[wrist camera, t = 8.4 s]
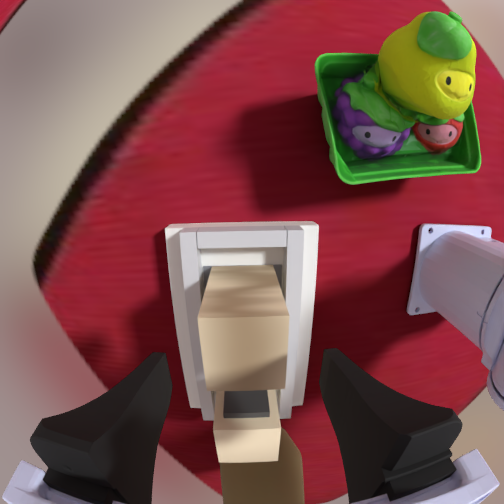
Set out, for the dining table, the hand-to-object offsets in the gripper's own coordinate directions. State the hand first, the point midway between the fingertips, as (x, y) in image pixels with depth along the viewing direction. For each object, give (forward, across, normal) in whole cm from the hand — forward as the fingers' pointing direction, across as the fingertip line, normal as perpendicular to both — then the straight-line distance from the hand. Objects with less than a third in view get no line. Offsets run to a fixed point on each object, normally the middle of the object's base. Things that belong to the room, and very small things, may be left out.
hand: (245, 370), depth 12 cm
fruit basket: (+10, -10, -13) cm, 19 cm away
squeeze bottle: (+10, -1, +18) cm, 20 cm away
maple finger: (+8, 0, 0) cm, 8 cm away
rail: (+9, 0, +3) cm, 10 cm away
